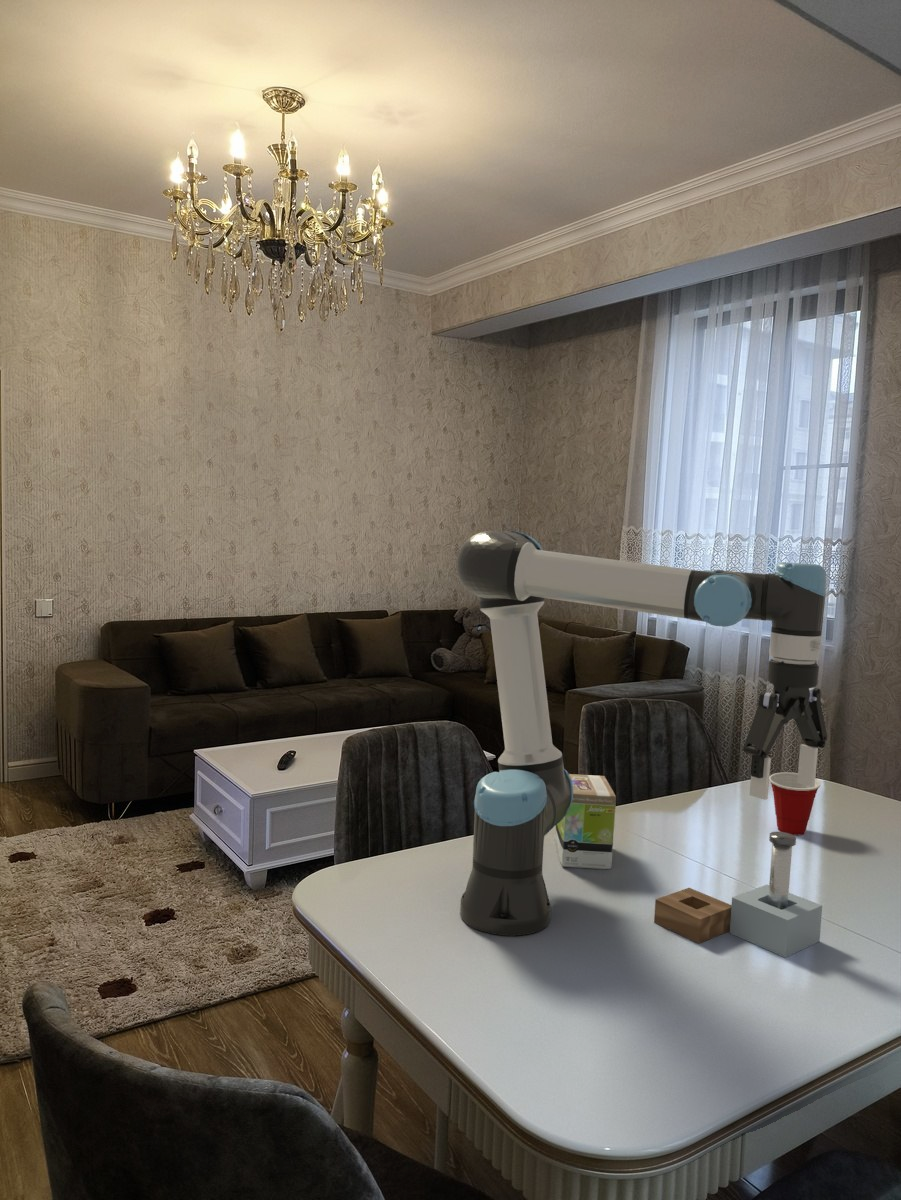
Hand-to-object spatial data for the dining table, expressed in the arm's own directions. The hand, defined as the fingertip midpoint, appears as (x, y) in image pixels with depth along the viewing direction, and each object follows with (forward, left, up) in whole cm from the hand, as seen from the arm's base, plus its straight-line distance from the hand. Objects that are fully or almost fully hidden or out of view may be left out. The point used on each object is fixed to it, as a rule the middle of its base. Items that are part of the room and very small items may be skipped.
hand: (782, 791), depth 143 cm
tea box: (0, +43, -25) cm, 49 cm away
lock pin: (0, 0, -24) cm, 24 cm away
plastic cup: (+51, +28, -25) cm, 63 cm away
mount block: (-8, +10, -24) cm, 27 cm away
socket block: (0, 0, -24) cm, 24 cm away
